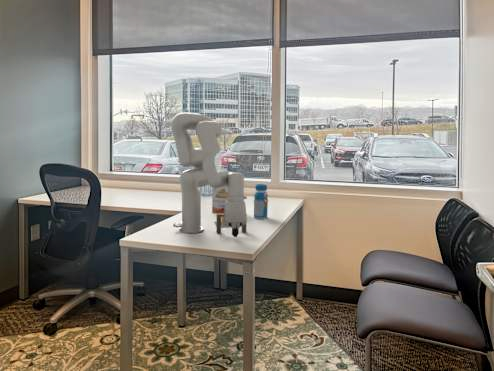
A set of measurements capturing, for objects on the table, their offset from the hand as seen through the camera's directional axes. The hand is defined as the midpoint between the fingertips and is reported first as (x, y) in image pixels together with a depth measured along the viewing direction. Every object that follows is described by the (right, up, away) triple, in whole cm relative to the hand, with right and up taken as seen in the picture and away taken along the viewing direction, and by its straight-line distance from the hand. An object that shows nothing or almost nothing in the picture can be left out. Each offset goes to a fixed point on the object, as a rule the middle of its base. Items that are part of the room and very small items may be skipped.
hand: (235, 236), depth 185 cm
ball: (-6, +6, +31) cm, 32 cm away
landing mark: (-5, +3, +29) cm, 30 cm away
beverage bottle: (+14, +5, +47) cm, 49 cm away
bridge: (-2, 0, +13) cm, 13 cm away
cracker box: (-9, +7, +61) cm, 62 cm away
